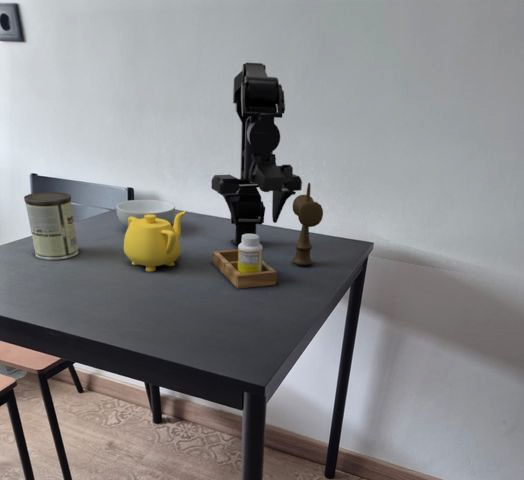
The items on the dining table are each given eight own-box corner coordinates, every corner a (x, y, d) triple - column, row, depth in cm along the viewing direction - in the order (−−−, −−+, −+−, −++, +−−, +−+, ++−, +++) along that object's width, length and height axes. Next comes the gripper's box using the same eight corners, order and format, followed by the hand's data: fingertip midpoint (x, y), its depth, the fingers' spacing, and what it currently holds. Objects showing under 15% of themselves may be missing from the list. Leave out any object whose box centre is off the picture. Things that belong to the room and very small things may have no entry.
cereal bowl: (170, 239, 136) (169, 214, 133) (111, 236, 136) (108, 210, 133) (180, 223, 151) (179, 200, 148) (126, 220, 151) (124, 197, 147)
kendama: (294, 270, 119) (300, 186, 109) (287, 257, 127) (293, 178, 117) (317, 270, 120) (326, 187, 110) (309, 257, 128) (317, 179, 118)
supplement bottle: (248, 273, 116) (249, 230, 111) (266, 279, 113) (268, 236, 108) (232, 279, 112) (233, 235, 107) (250, 285, 109) (252, 241, 104)
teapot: (182, 274, 113) (180, 224, 107) (120, 273, 112) (115, 222, 106) (187, 255, 125) (185, 208, 119) (130, 253, 124) (126, 206, 118)
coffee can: (36, 248, 124) (25, 191, 117) (79, 246, 127) (71, 191, 120) (33, 261, 116) (21, 201, 109) (78, 259, 119) (70, 200, 112)
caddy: (212, 263, 121) (212, 251, 119) (247, 259, 124) (247, 248, 123) (237, 288, 107) (238, 276, 105) (276, 284, 110) (276, 271, 109)
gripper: (231, 153, 88) (229, 237, 96) (318, 152, 96) (311, 230, 103) (210, 145, 97) (210, 223, 105) (292, 145, 104) (286, 217, 112)
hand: (255, 223), depth 106 cm, fingers open, 9 cm apart
